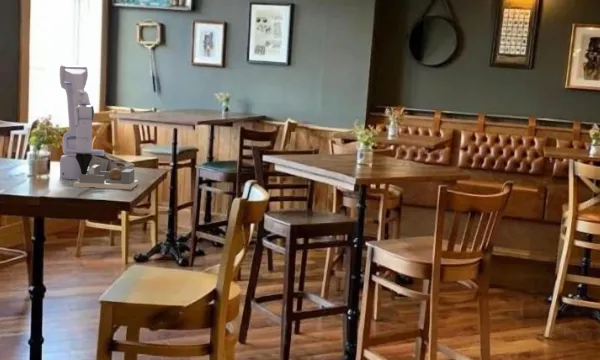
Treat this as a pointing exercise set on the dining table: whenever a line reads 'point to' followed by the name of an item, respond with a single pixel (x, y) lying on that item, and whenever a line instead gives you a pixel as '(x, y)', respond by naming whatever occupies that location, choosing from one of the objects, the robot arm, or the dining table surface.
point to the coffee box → (110, 162)
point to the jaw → (94, 170)
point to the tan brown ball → (115, 174)
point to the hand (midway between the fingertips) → (84, 174)
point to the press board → (107, 180)
